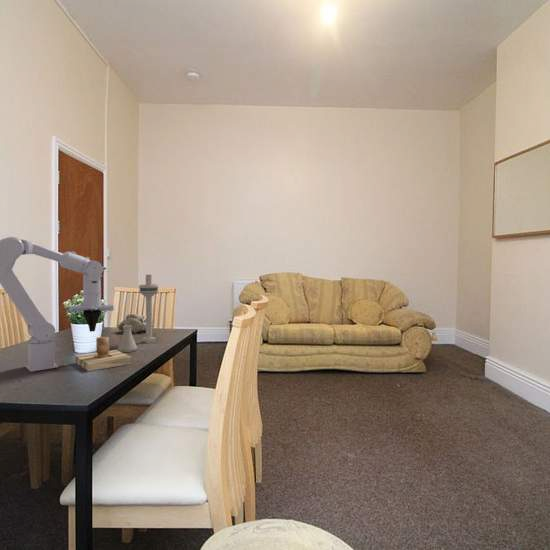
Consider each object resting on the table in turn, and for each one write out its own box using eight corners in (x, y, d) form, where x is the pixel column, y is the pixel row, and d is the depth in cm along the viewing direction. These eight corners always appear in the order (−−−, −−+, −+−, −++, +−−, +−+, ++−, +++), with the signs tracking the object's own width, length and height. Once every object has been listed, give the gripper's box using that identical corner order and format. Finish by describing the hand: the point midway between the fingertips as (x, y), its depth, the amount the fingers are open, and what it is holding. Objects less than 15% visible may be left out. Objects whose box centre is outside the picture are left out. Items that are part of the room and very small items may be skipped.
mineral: (147, 329, 186) (151, 311, 190) (112, 327, 186) (117, 308, 191) (154, 337, 197) (158, 319, 201) (121, 335, 197) (126, 317, 202)
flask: (128, 353, 147) (128, 327, 147) (113, 351, 149) (113, 326, 149) (141, 349, 154) (140, 325, 153) (126, 348, 156) (126, 324, 156)
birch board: (75, 363, 132) (75, 355, 132) (116, 356, 142) (116, 349, 142) (88, 371, 122) (88, 363, 122) (131, 363, 131) (131, 356, 131)
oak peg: (94, 364, 130) (93, 338, 130) (101, 361, 134) (101, 336, 134) (104, 365, 129) (104, 339, 129) (111, 362, 133) (111, 336, 133)
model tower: (162, 341, 169) (162, 274, 168) (144, 344, 163) (144, 275, 162) (153, 338, 175) (152, 274, 174) (135, 341, 169) (135, 274, 168)
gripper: (66, 294, 131) (67, 333, 131) (111, 294, 134) (111, 332, 134) (72, 293, 138) (73, 330, 138) (115, 292, 141) (115, 328, 141)
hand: (92, 331), depth 137 cm, fingers closed
